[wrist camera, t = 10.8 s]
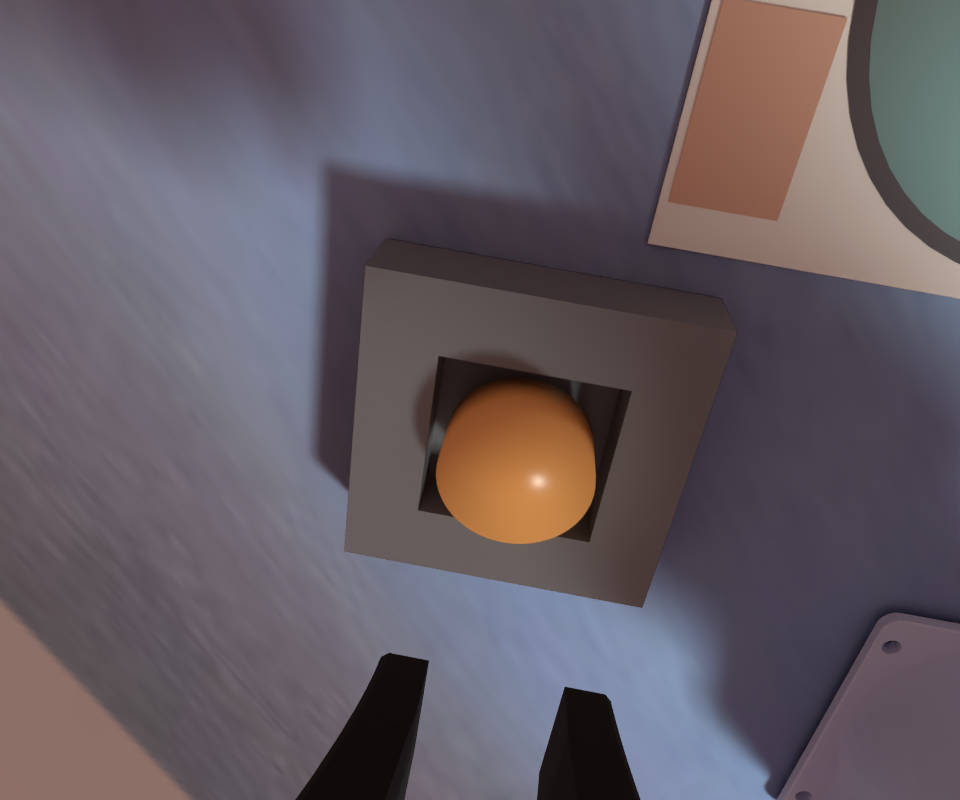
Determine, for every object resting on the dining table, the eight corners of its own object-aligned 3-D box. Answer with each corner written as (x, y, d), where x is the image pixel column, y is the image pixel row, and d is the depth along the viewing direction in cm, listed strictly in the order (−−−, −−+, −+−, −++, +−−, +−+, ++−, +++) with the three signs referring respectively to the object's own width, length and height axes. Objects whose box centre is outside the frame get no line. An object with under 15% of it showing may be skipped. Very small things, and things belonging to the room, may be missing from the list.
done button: (576, 514, 19) (577, 556, 18) (438, 489, 19) (427, 528, 18) (609, 392, 17) (612, 428, 16) (456, 365, 17) (446, 397, 16)
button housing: (636, 557, 21) (642, 607, 20) (362, 506, 22) (344, 551, 20) (721, 298, 18) (737, 332, 16) (385, 238, 18) (365, 265, 16)
